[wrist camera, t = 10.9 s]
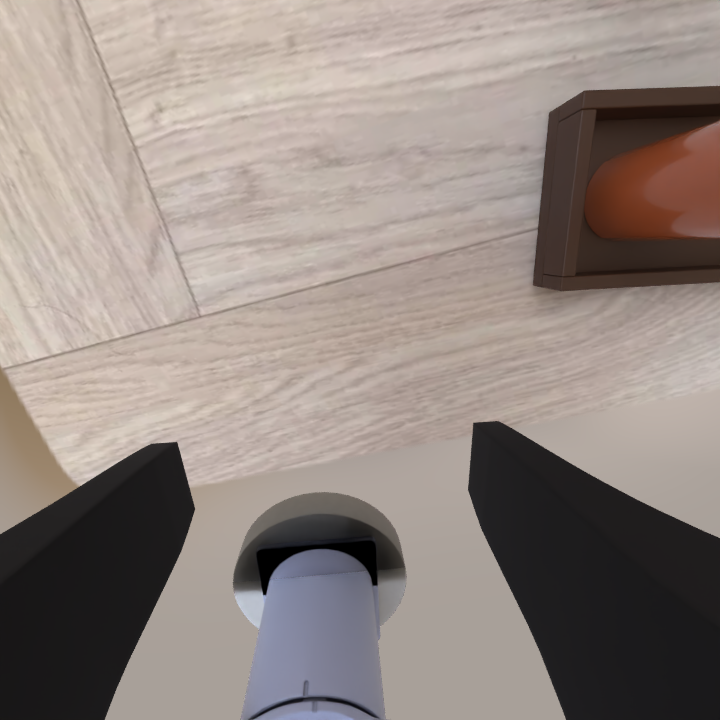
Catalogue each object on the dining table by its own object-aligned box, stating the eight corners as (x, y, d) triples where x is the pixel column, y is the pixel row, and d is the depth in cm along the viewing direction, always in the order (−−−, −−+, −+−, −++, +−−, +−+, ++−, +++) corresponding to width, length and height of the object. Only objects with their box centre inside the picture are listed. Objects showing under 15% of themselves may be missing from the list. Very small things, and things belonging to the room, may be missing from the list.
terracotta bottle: (655, 239, 16) (933, 233, 9) (577, 243, 16) (790, 240, 9) (672, 148, 15) (1007, 52, 8) (589, 152, 15) (844, 57, 7)
